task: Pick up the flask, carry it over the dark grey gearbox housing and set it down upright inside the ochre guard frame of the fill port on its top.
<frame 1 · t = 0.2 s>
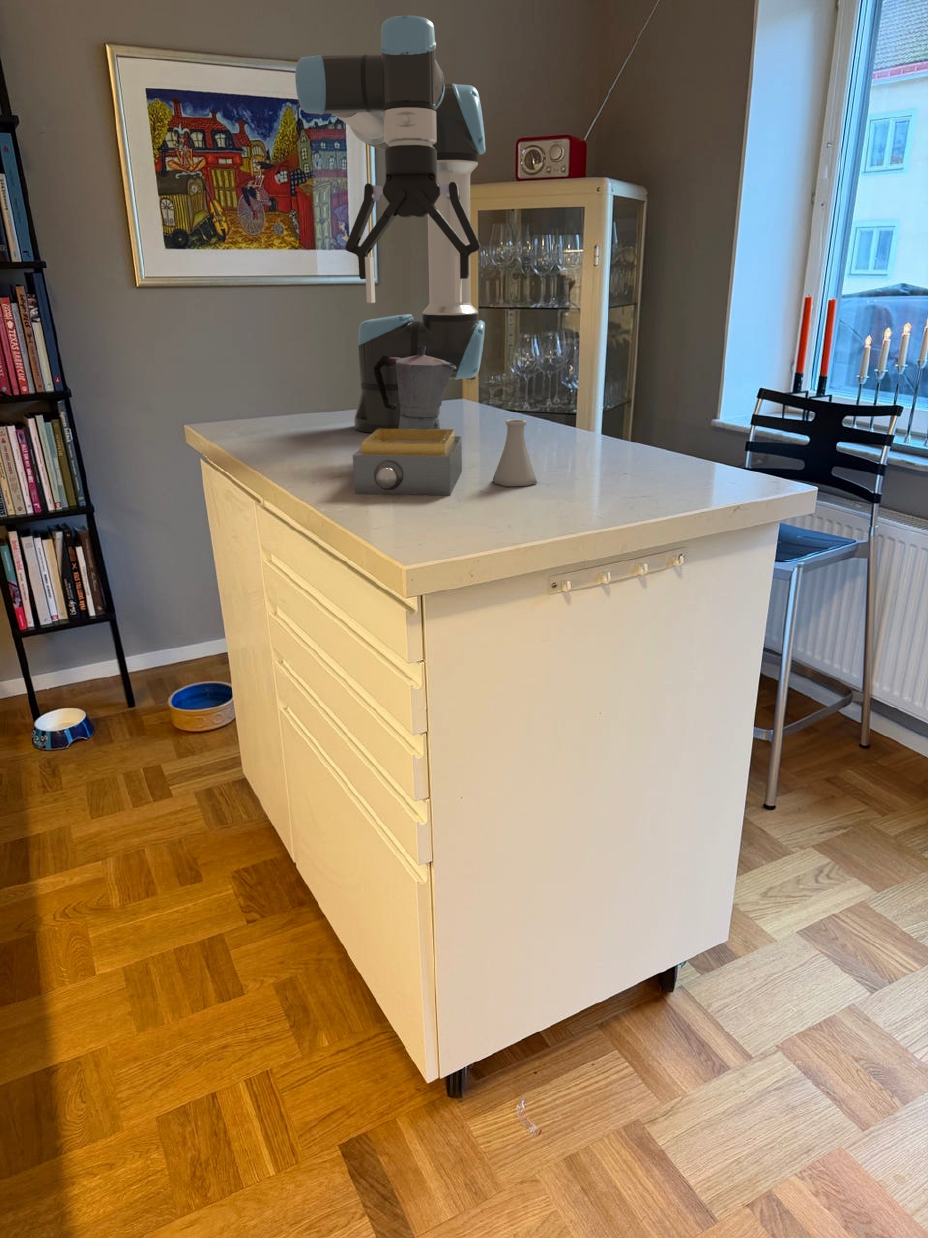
hand: (414, 302, 133), 28 cm above the countertop, fingers open, 13 cm apart
moka pot: (416, 459, 159), on the countertop
gearbox: (410, 481, 142), on the countertop
flask: (514, 483, 141), on the countertop
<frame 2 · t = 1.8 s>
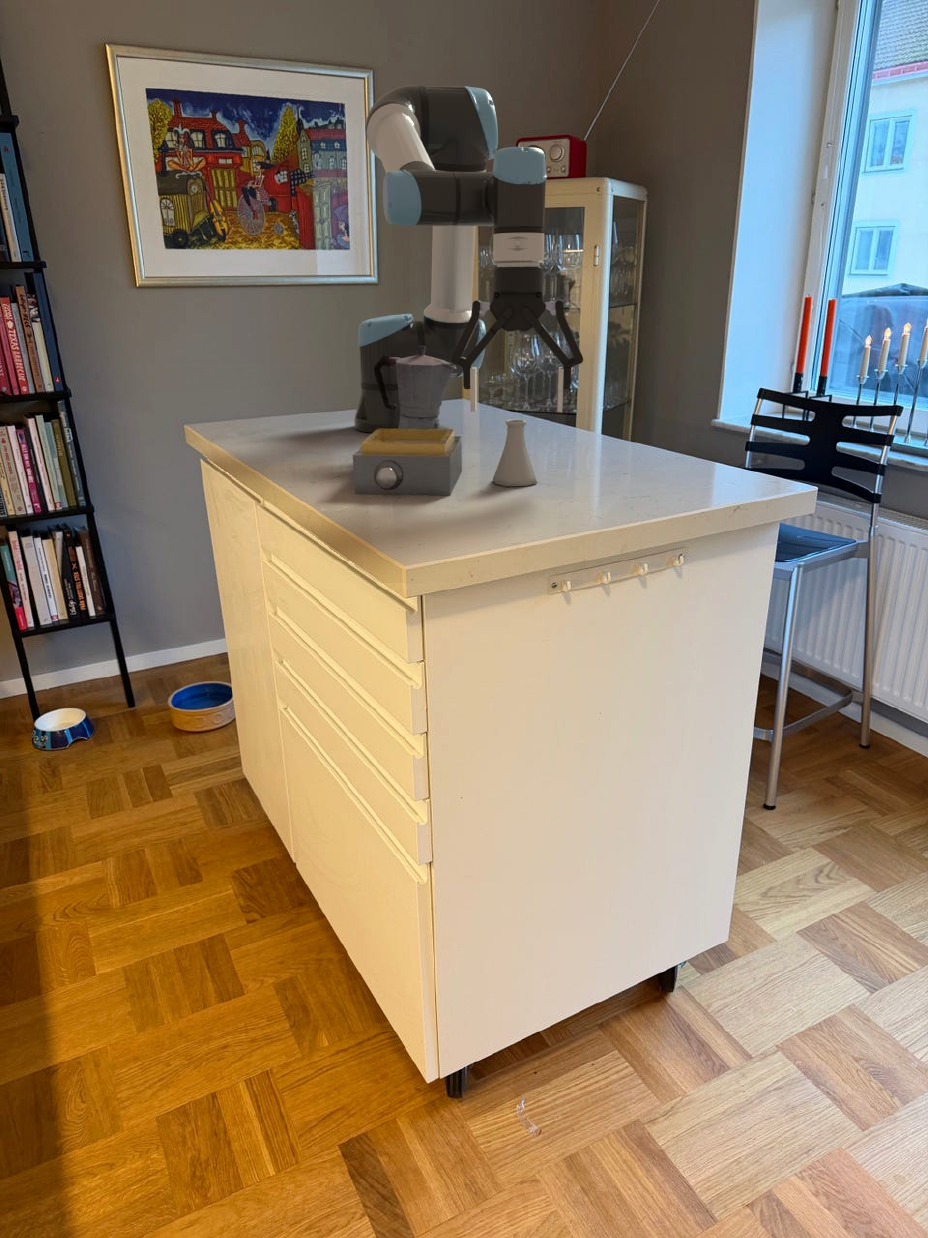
hand: (516, 410, 136), 11 cm above the countertop, fingers open, 13 cm apart
nothing on the countertop moved.
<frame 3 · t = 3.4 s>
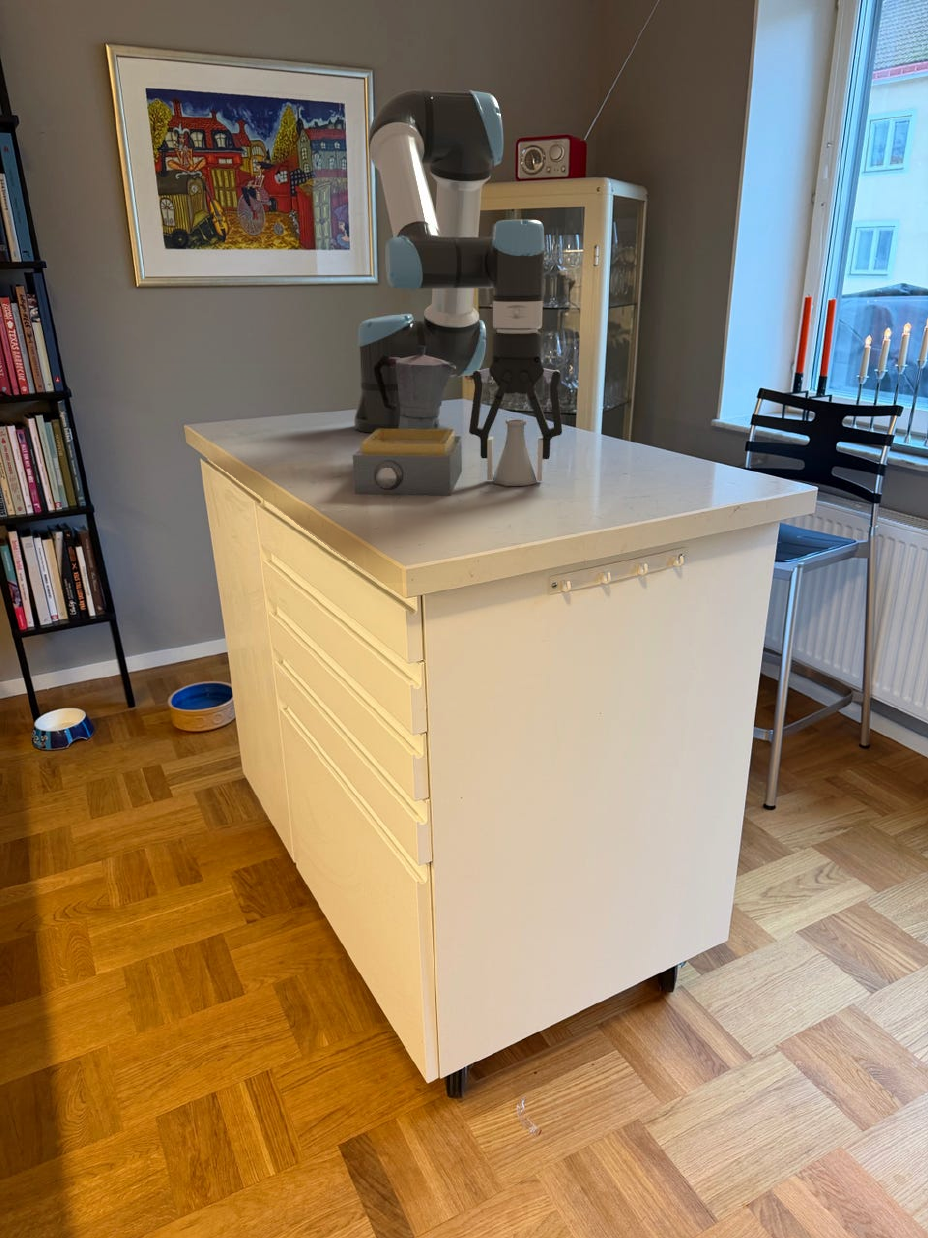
hand: (514, 478, 141), 1 cm above the countertop, fingers closed on flask, 7 cm apart
flask: (514, 483, 141), on the countertop, touching gripper
everything else where it was.
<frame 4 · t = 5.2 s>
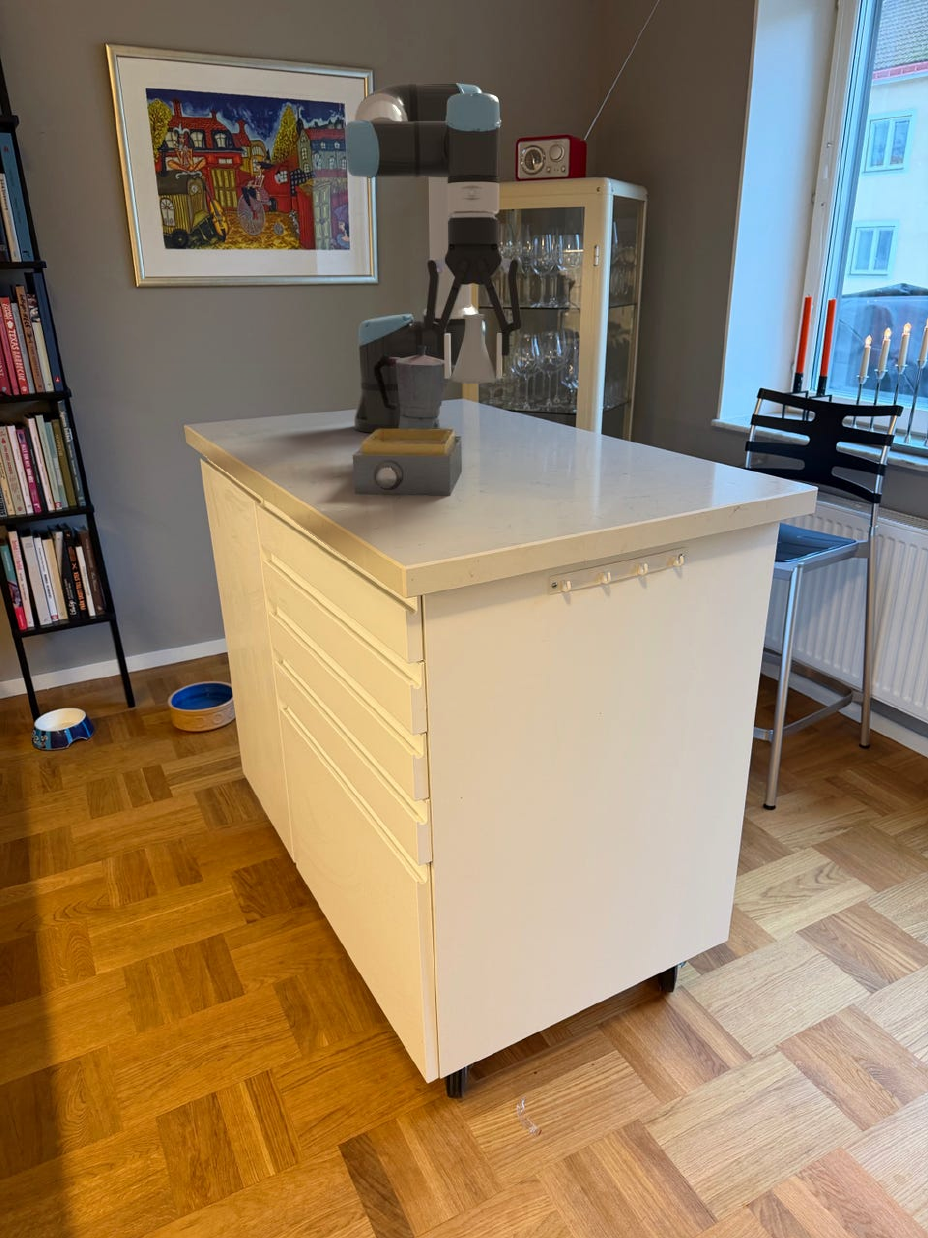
hand: (473, 377, 135), 17 cm above the countertop, fingers closed on flask, 7 cm apart
flask: (473, 383, 135), point 16 cm above the countertop, touching gripper
everything else where it was.
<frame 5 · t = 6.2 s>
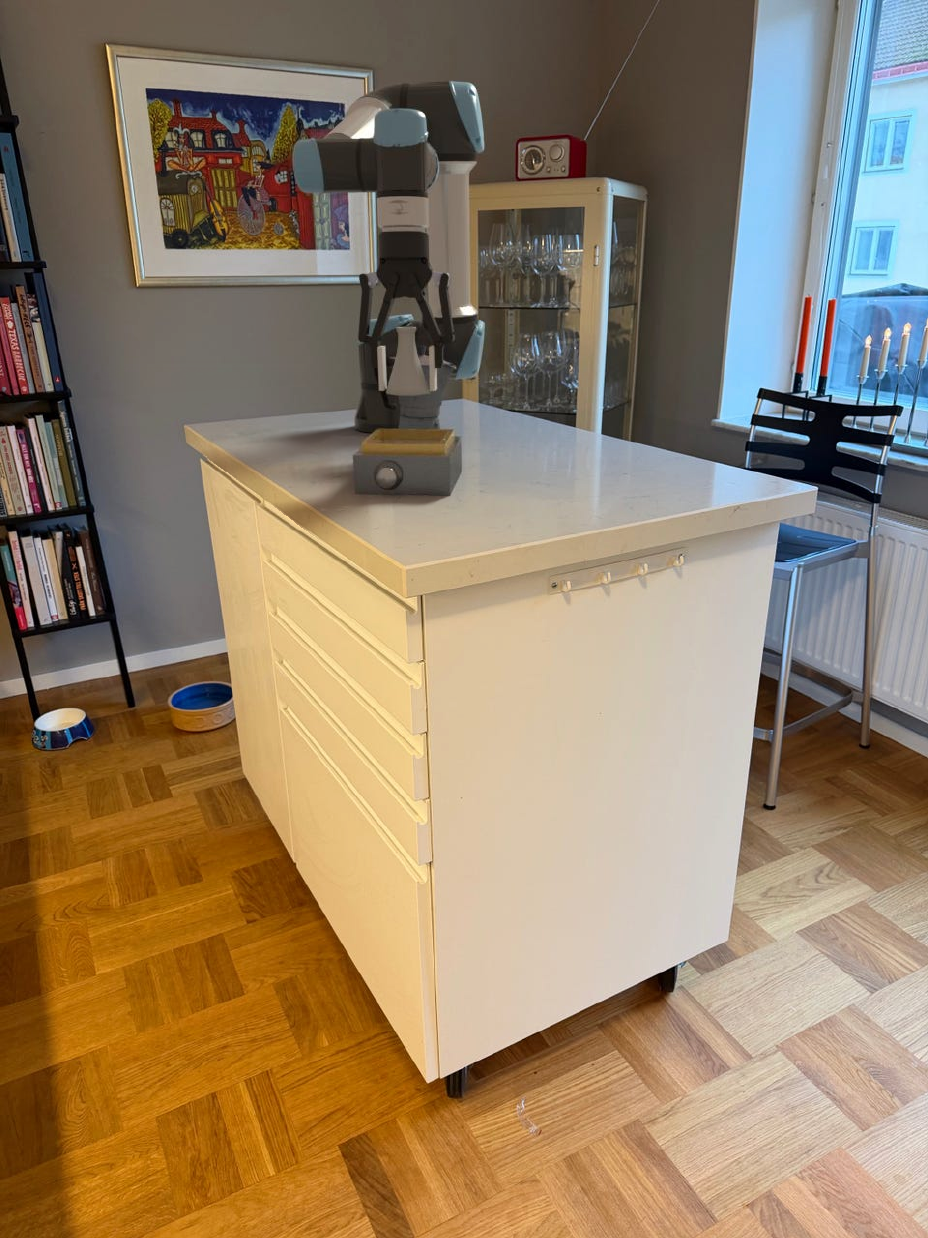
hand: (408, 389, 136), 15 cm above the countertop, fingers closed on flask, 7 cm apart
flask: (408, 395, 136), point 14 cm above the countertop, touching gripper
everything else where it was.
when the fingers open (8 cm above the countertop, at t = 7.4 s): flask drops 1 cm, resting on gearbox.
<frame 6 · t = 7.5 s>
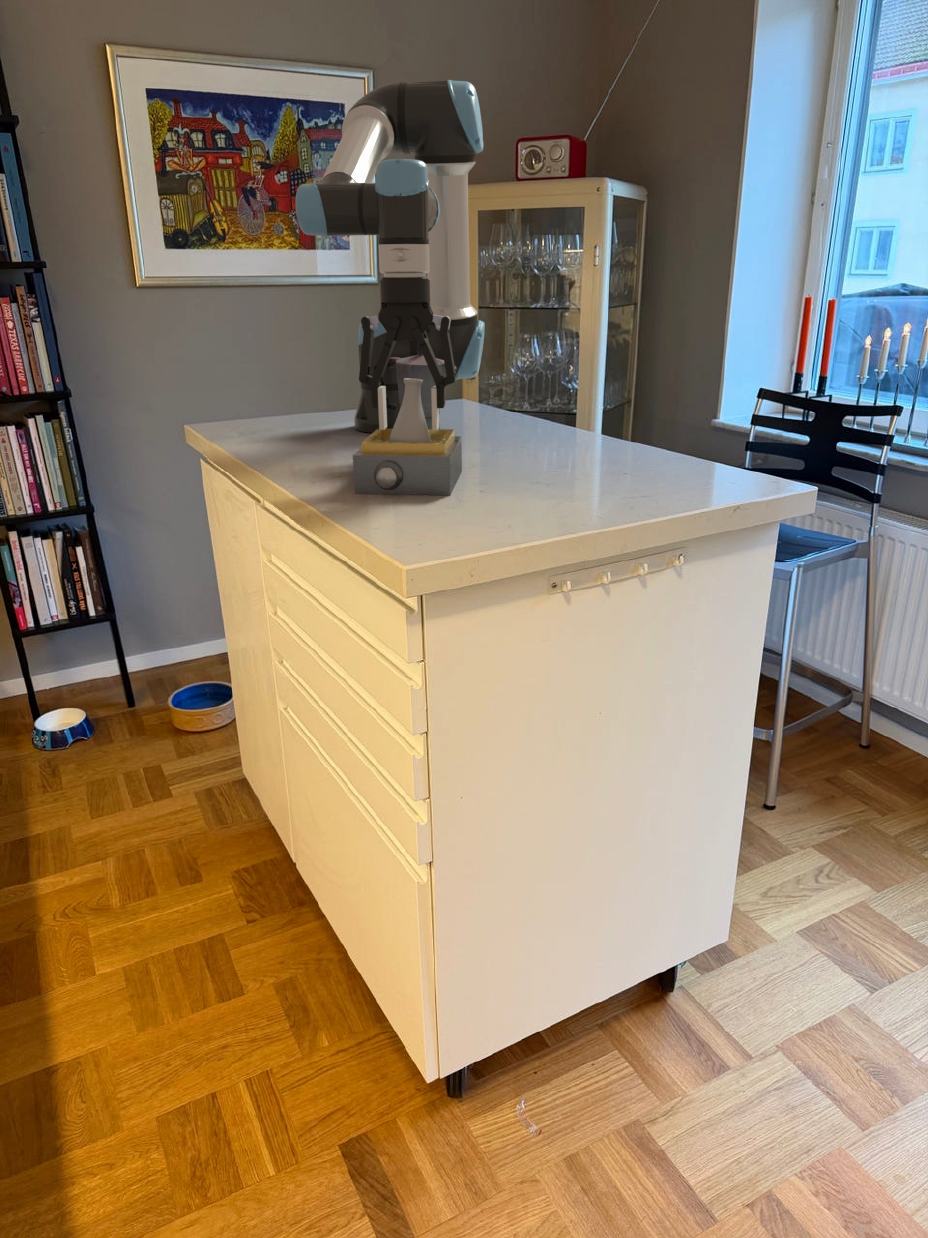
hand: (409, 428, 138), 9 cm above the countertop, fingers open, 8 cm apart
flask: (409, 444, 139), point 6 cm above the countertop, touching gearbox
everything else where it was.
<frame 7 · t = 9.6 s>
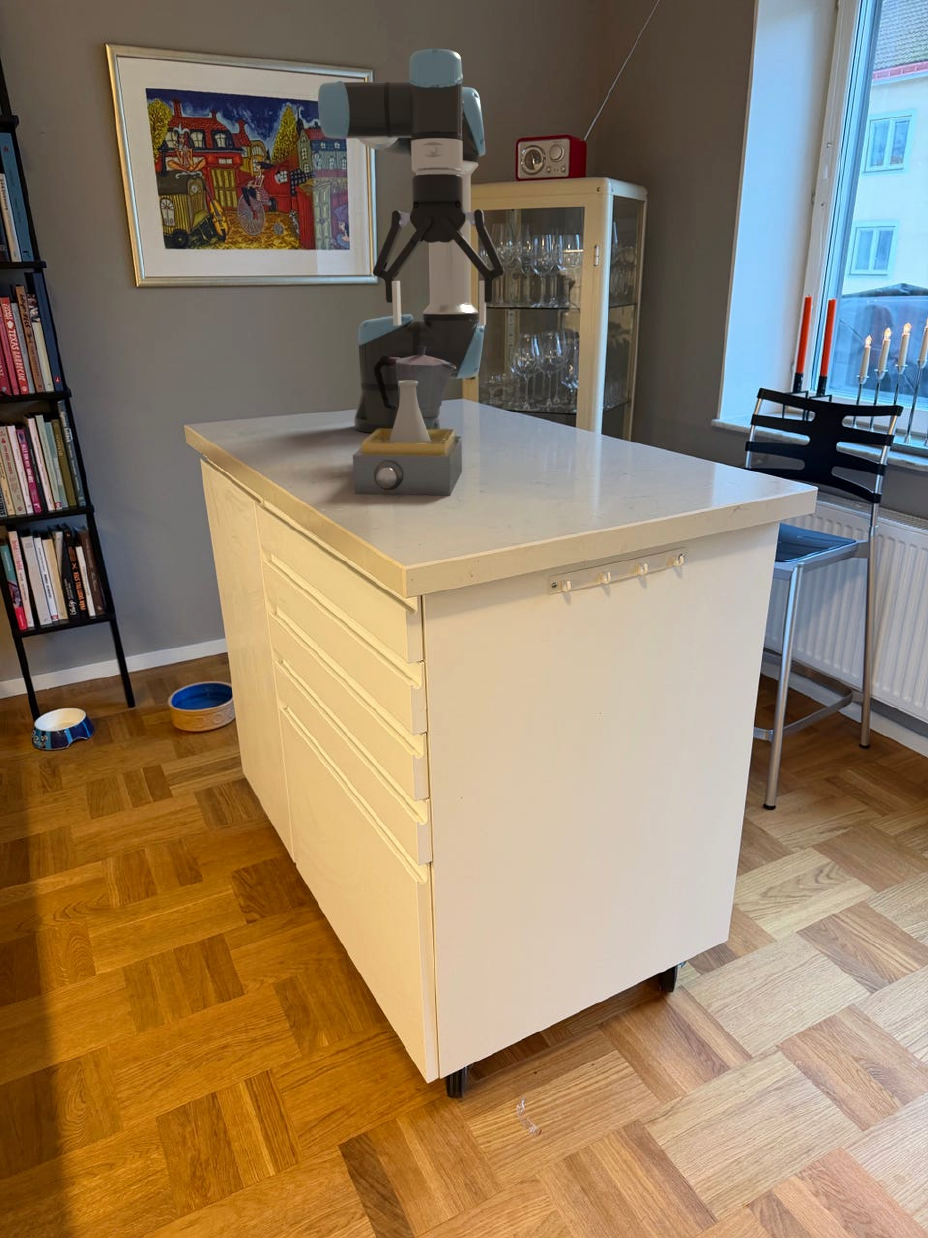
hand: (439, 325, 136), 24 cm above the countertop, fingers open, 13 cm apart
nothing on the countertop moved.
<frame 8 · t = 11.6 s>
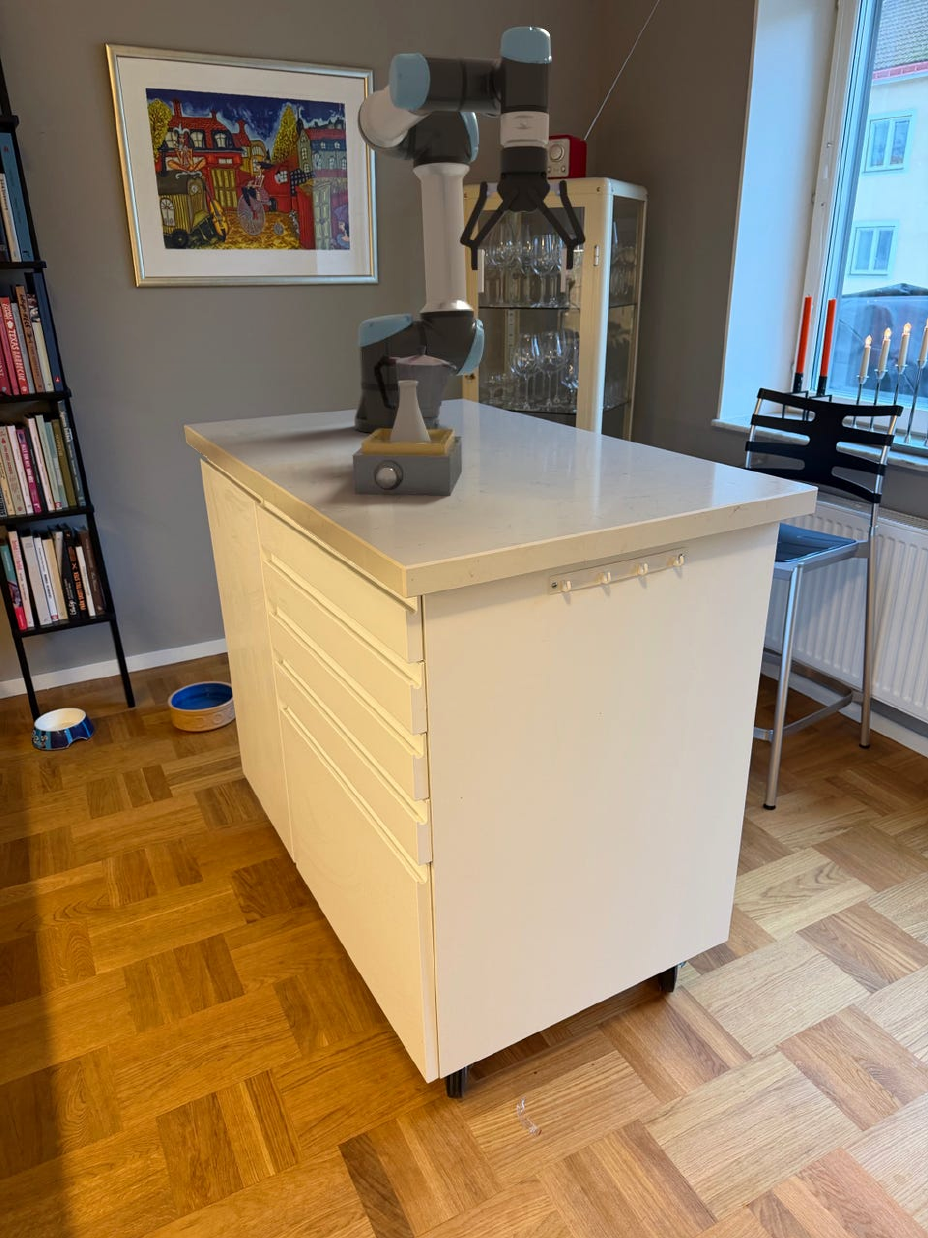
hand: (521, 292, 143), 29 cm above the countertop, fingers open, 13 cm apart
nothing on the countertop moved.
at the end: flask 0.0 cm off-centre on the gearbox, point 5.8 cm above the gearbox's base; flask tilted 0°; the gripper is holding nothing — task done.
